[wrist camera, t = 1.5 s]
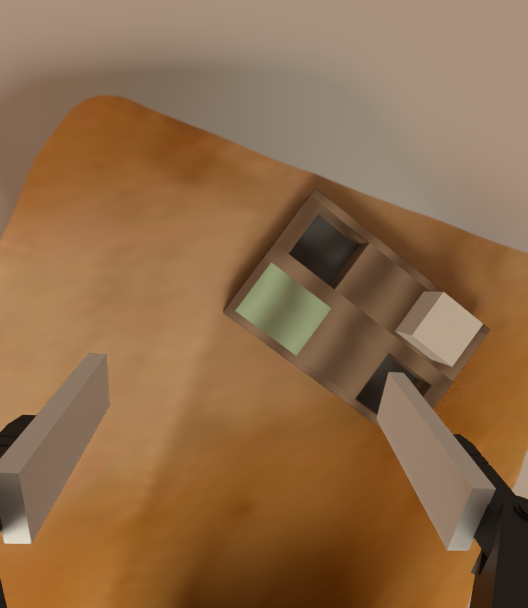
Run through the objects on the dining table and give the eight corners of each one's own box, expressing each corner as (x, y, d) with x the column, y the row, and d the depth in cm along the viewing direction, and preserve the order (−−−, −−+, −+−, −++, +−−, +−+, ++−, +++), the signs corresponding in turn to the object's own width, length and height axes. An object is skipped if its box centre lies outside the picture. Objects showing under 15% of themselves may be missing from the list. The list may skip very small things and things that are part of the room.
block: (459, 320, 44) (483, 323, 40) (431, 359, 43) (452, 366, 40) (423, 291, 43) (443, 291, 39) (394, 331, 43) (411, 335, 39)
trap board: (468, 326, 48) (490, 329, 44) (391, 433, 48) (406, 446, 44) (307, 197, 45) (315, 188, 41) (223, 310, 45) (222, 312, 41)
